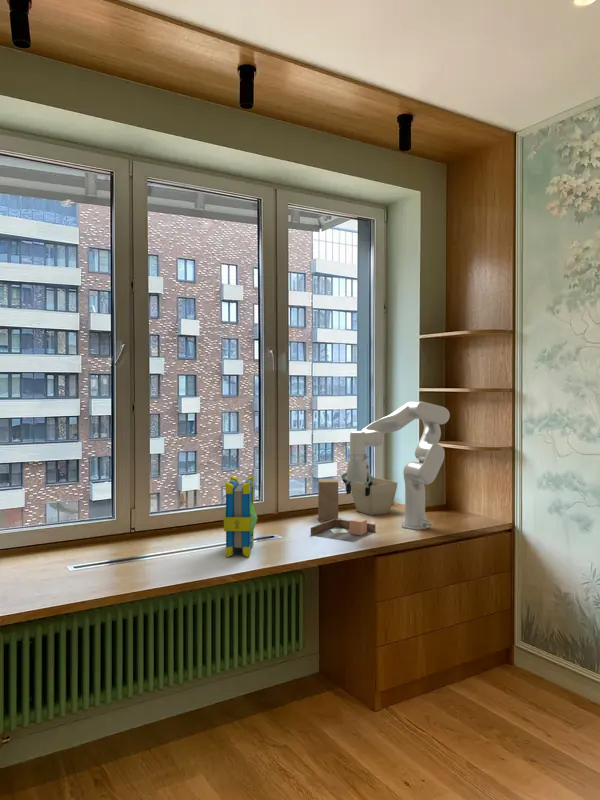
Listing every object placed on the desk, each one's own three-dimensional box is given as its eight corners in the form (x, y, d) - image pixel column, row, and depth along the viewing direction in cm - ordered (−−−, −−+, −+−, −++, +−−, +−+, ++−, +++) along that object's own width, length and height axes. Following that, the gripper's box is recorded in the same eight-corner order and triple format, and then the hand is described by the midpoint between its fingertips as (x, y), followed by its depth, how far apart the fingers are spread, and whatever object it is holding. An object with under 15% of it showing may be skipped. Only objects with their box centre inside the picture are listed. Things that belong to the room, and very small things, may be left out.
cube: (366, 532, 285) (366, 519, 285) (360, 535, 280) (361, 522, 280) (355, 530, 289) (355, 518, 288) (349, 533, 284) (349, 520, 283)
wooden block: (338, 521, 310) (338, 481, 309) (318, 521, 310) (318, 481, 310) (337, 517, 320) (337, 478, 319) (318, 516, 320) (318, 478, 320)
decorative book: (219, 558, 244) (219, 483, 243) (227, 543, 267) (227, 474, 266) (255, 558, 244) (255, 483, 243) (259, 543, 267) (259, 474, 266)
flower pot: (398, 513, 329) (398, 482, 329) (370, 517, 319) (370, 485, 319) (375, 507, 345) (375, 477, 345) (348, 511, 335) (348, 480, 335)
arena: (375, 532, 286) (375, 524, 286) (353, 543, 268) (353, 534, 268) (334, 526, 298) (334, 518, 298) (310, 536, 280) (310, 527, 279)
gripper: (378, 458, 282) (378, 495, 282) (345, 455, 291) (345, 491, 292) (371, 460, 276) (371, 498, 276) (337, 457, 285) (337, 494, 286)
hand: (357, 494), depth 284 cm, fingers open, 9 cm apart
